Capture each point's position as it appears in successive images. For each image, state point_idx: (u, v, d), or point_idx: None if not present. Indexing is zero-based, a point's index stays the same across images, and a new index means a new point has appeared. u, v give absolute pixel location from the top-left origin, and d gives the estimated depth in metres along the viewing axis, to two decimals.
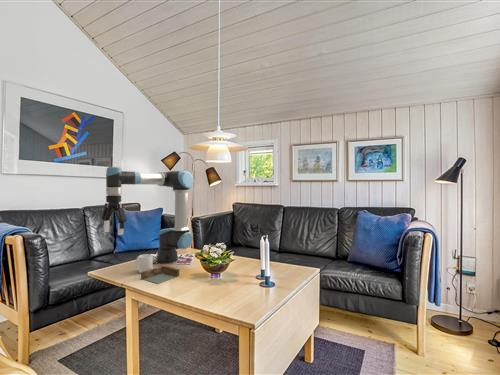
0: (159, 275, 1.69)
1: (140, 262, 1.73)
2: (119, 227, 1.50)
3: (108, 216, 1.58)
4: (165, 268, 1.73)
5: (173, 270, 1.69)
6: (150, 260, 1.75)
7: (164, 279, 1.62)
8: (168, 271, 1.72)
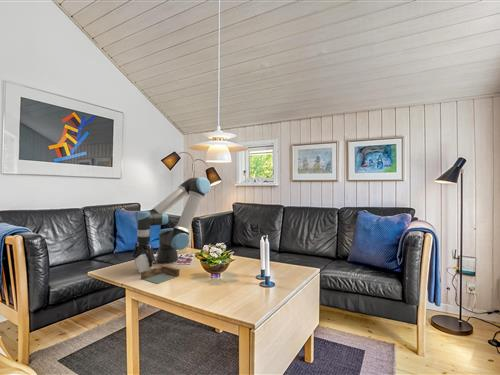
0: (159, 275, 1.69)
1: (140, 262, 1.73)
2: (148, 265, 1.73)
3: (138, 254, 1.80)
4: (165, 268, 1.73)
5: (173, 270, 1.69)
6: None
7: (164, 279, 1.62)
8: (168, 271, 1.72)
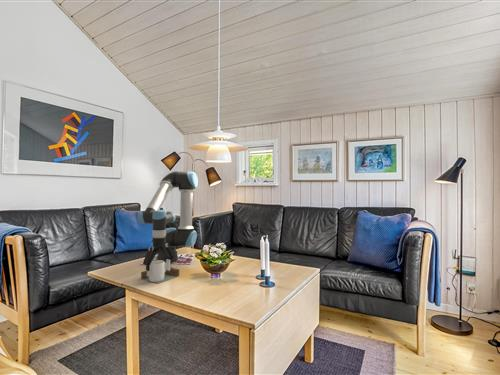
0: None
1: None
2: None
3: (166, 255, 1.67)
4: None
5: (173, 270, 1.69)
6: (151, 268, 1.58)
7: (164, 279, 1.62)
8: (168, 271, 1.72)
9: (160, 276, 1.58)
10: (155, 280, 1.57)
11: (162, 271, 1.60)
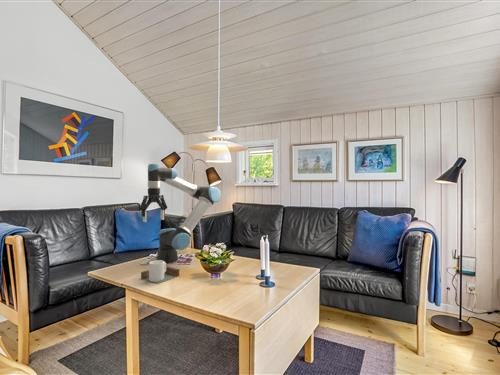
0: None
1: None
2: None
3: (160, 206, 1.85)
4: None
5: (173, 270, 1.69)
6: (151, 268, 1.58)
7: (164, 279, 1.62)
8: (168, 271, 1.72)
9: (160, 276, 1.58)
10: (155, 280, 1.57)
11: (162, 271, 1.60)
